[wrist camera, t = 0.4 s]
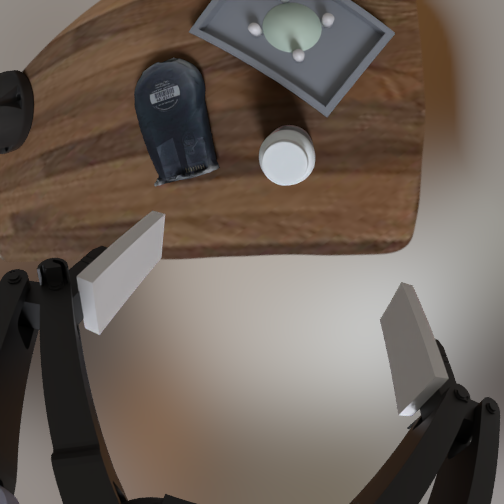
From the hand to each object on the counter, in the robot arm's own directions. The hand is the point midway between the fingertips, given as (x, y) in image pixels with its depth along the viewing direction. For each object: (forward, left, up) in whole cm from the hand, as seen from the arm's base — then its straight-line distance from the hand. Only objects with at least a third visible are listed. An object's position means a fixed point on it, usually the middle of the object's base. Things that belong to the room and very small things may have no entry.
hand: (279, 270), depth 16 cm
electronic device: (-16, -3, -23) cm, 28 cm away
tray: (-10, +14, -22) cm, 28 cm away
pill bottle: (-2, +2, -22) cm, 22 cm away
